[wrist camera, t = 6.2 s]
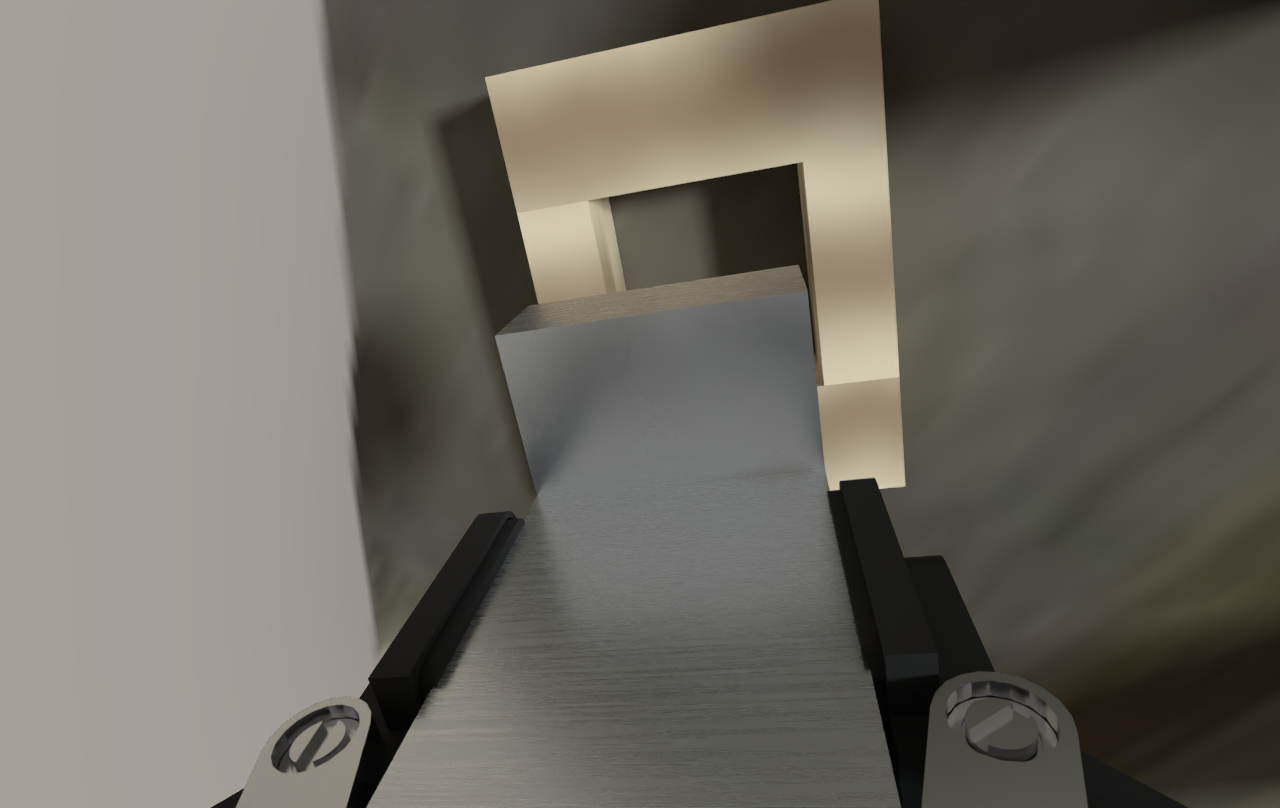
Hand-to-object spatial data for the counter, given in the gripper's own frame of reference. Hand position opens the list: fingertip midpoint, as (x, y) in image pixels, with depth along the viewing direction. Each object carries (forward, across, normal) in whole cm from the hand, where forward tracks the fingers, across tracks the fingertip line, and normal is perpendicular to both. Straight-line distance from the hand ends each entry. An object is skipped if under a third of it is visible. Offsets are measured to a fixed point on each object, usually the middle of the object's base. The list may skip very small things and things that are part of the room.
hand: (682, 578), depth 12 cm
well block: (+17, 0, -2) cm, 17 cm away
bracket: (+3, 0, -2) cm, 3 cm away
